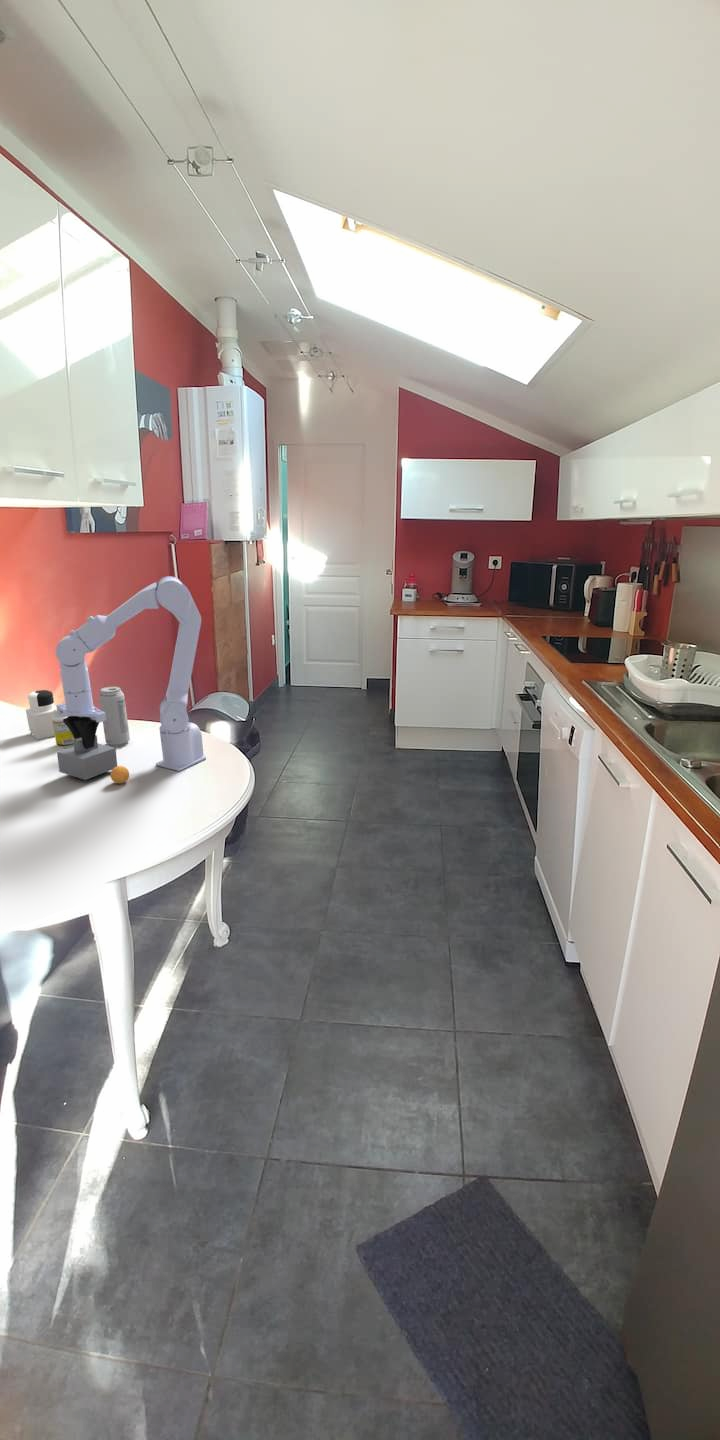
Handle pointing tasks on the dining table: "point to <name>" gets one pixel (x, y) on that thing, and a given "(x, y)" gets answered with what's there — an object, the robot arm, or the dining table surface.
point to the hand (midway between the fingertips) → (86, 746)
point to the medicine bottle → (41, 714)
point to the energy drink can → (114, 716)
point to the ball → (120, 774)
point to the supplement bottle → (62, 731)
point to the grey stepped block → (86, 759)
